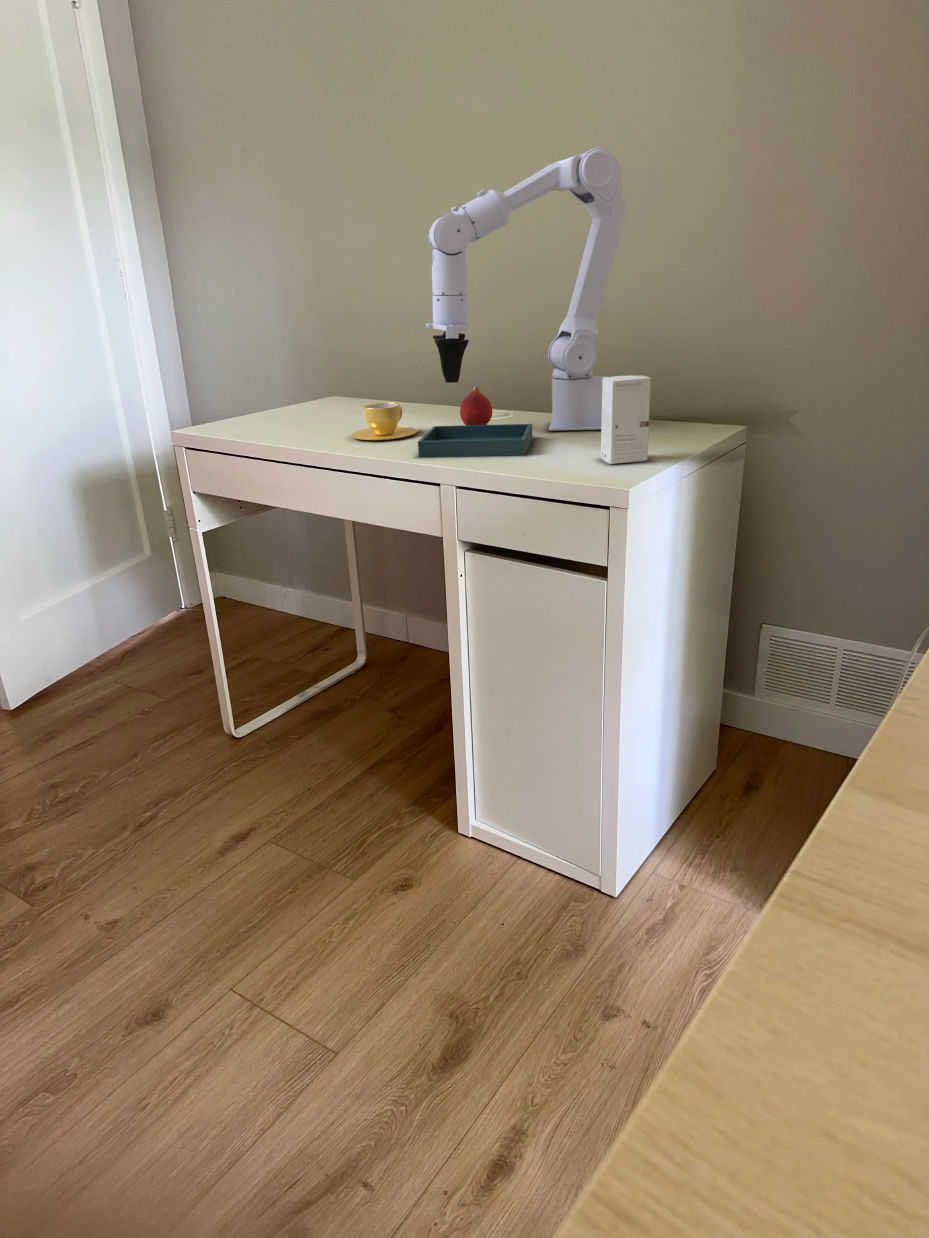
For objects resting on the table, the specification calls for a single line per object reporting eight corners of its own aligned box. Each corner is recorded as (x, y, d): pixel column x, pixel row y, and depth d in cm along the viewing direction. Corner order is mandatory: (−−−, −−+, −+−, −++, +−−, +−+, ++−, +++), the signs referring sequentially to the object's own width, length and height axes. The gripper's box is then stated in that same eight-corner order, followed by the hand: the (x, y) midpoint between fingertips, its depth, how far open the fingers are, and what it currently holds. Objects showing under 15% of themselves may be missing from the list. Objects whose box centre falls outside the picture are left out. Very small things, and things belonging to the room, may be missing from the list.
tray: (532, 438, 146) (532, 423, 145) (525, 455, 134) (524, 439, 133) (434, 440, 149) (433, 426, 148) (418, 457, 137) (417, 441, 136)
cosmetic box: (610, 465, 125) (611, 380, 120) (599, 459, 129) (600, 377, 124) (649, 461, 126) (652, 377, 122) (637, 455, 130) (639, 373, 126)
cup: (387, 444, 148) (384, 413, 146) (338, 439, 155) (334, 409, 153) (430, 431, 157) (428, 401, 155) (382, 427, 164) (379, 398, 161)
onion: (490, 435, 151) (488, 389, 148) (458, 435, 152) (455, 390, 149) (495, 429, 156) (493, 384, 153) (464, 429, 157) (462, 385, 154)
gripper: (424, 294, 148) (426, 375, 153) (426, 297, 134) (428, 385, 140) (465, 293, 148) (465, 374, 153) (471, 296, 135) (471, 384, 140)
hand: (450, 379), depth 147 cm, fingers open, 7 cm apart
